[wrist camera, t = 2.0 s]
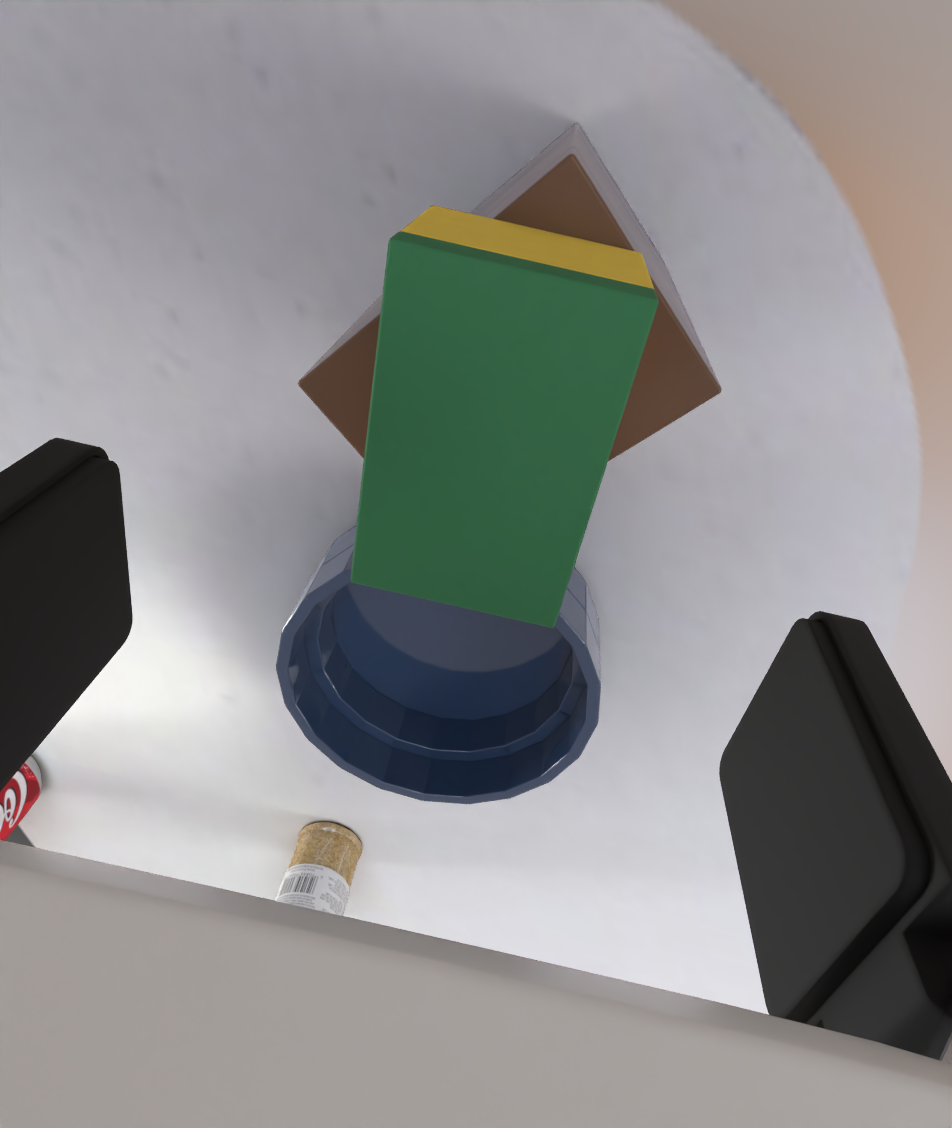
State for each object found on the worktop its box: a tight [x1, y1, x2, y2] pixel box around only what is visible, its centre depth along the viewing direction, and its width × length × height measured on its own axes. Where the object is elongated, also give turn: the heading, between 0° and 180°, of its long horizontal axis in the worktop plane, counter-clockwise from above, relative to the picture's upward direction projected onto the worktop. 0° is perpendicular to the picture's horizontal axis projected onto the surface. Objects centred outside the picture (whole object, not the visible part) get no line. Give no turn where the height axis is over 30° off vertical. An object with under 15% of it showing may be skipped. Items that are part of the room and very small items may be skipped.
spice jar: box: [275, 822, 362, 916], centre depth 45 cm, size 5×5×14 cm
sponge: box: [351, 206, 659, 628], centre depth 15 cm, size 7×4×4 cm, turn 170°
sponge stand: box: [298, 122, 721, 461], centre depth 23 cm, size 8×6×14 cm
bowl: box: [276, 525, 601, 804], centre depth 37 cm, size 15×15×6 cm
